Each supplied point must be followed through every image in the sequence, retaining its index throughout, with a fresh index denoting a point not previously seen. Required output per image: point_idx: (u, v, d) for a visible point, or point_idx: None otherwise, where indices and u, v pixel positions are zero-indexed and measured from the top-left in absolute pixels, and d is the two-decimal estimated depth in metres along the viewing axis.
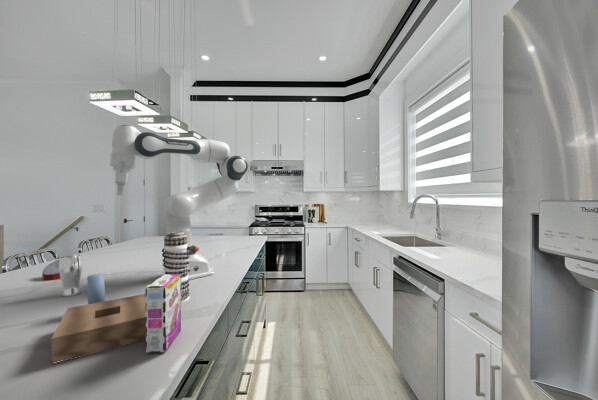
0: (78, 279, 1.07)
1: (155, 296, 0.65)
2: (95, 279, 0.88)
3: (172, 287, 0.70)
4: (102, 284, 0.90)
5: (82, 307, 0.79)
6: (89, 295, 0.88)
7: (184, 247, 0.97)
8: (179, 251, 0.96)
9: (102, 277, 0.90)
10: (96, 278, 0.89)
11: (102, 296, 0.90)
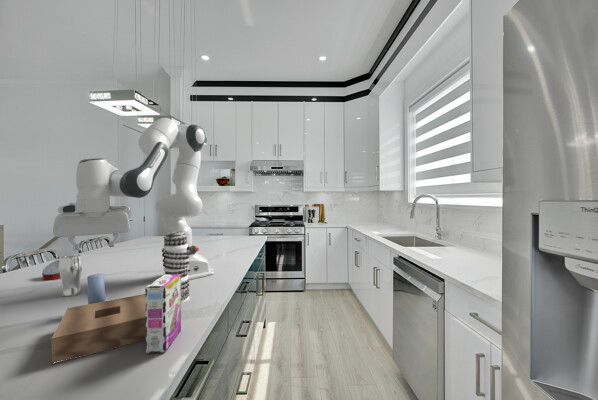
0: (78, 279, 1.07)
1: (155, 296, 0.65)
2: (95, 279, 0.88)
3: (172, 287, 0.70)
4: (102, 284, 0.90)
5: (82, 307, 0.79)
6: (89, 295, 0.88)
7: (184, 247, 0.97)
8: (179, 251, 0.96)
9: (102, 277, 0.90)
10: (96, 278, 0.89)
11: (102, 296, 0.90)
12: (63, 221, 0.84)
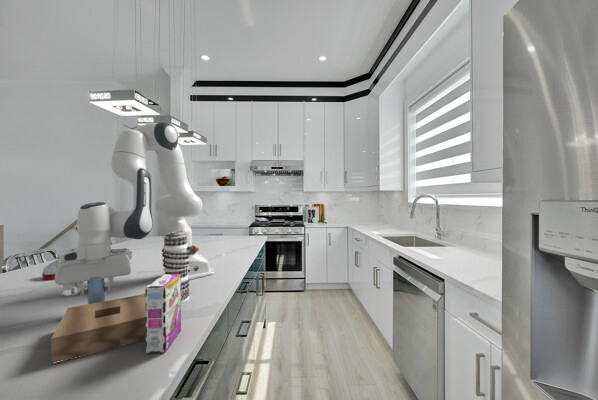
0: None
1: (155, 296, 0.65)
2: (95, 279, 0.88)
3: (172, 287, 0.70)
4: (102, 284, 0.90)
5: (82, 307, 0.79)
6: (89, 295, 0.88)
7: (184, 247, 0.97)
8: (179, 251, 0.96)
9: None
10: (96, 278, 0.88)
11: (102, 296, 0.90)
12: (64, 269, 0.84)
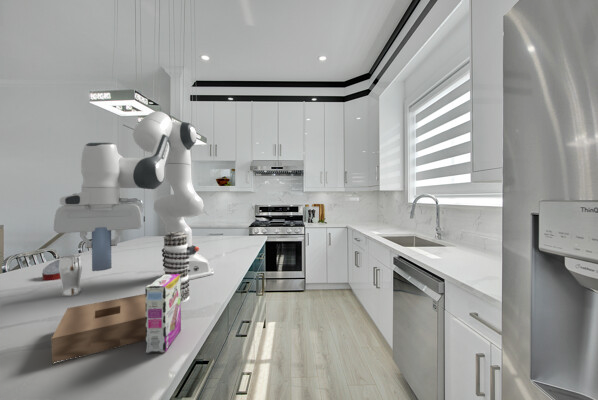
0: (78, 279, 1.07)
1: (155, 296, 0.65)
2: (101, 230, 0.75)
3: (172, 287, 0.70)
4: (108, 237, 0.77)
5: (82, 307, 0.79)
6: (93, 248, 0.75)
7: (184, 247, 0.97)
8: (179, 251, 0.96)
9: None
10: (102, 229, 0.76)
11: (108, 251, 0.77)
12: (65, 215, 0.72)
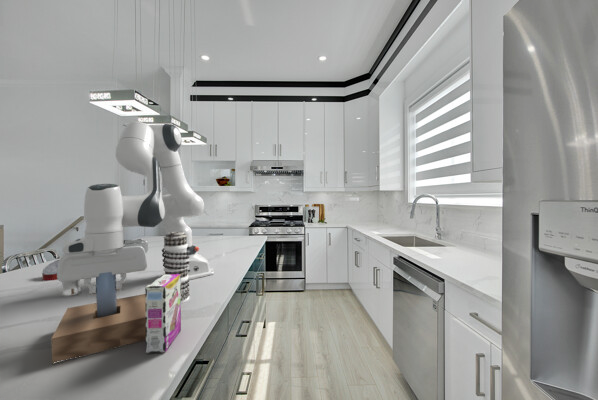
0: None
1: (155, 296, 0.65)
2: (105, 275, 0.73)
3: (172, 287, 0.70)
4: (113, 281, 0.75)
5: (82, 307, 0.79)
6: (98, 294, 0.73)
7: (184, 247, 0.97)
8: (179, 251, 0.96)
9: None
10: (106, 274, 0.74)
11: (113, 296, 0.75)
12: (69, 262, 0.70)
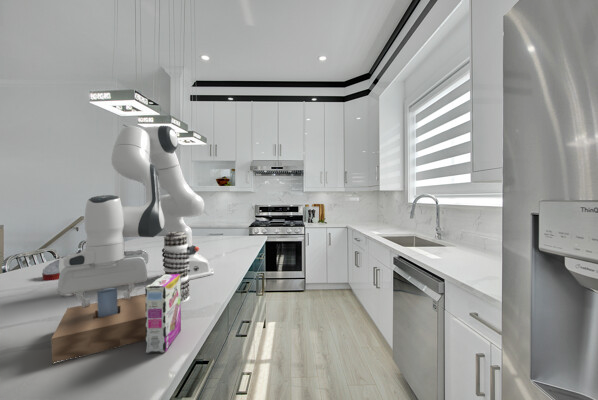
0: None
1: (155, 296, 0.65)
2: (107, 295, 0.74)
3: (172, 287, 0.70)
4: (115, 301, 0.75)
5: None
6: (99, 314, 0.74)
7: (184, 247, 0.97)
8: (179, 251, 0.96)
9: (115, 292, 0.76)
10: (108, 294, 0.74)
11: None
12: (70, 275, 0.70)
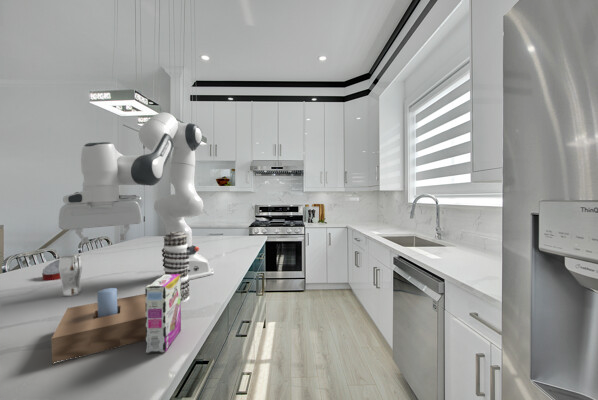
0: (78, 279, 1.07)
1: (155, 296, 0.65)
2: (106, 295, 0.74)
3: (172, 287, 0.70)
4: (115, 301, 0.75)
5: (82, 307, 0.79)
6: (99, 314, 0.74)
7: (184, 247, 0.97)
8: (179, 251, 0.96)
9: (115, 292, 0.76)
10: (108, 294, 0.74)
11: None
12: (69, 212, 0.76)
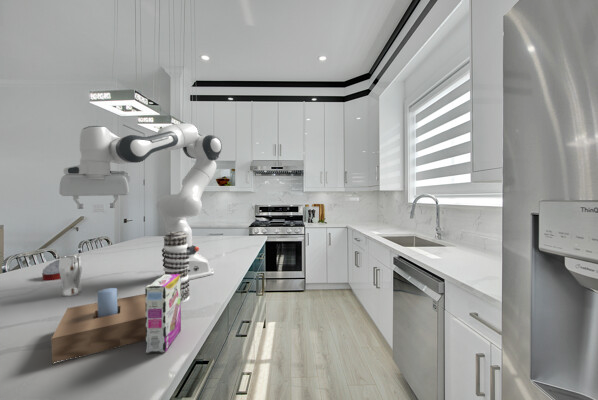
0: (78, 279, 1.07)
1: (155, 296, 0.65)
2: (107, 295, 0.74)
3: (172, 287, 0.70)
4: (115, 301, 0.76)
5: (82, 307, 0.79)
6: (99, 314, 0.74)
7: (184, 247, 0.97)
8: (179, 251, 0.96)
9: (115, 292, 0.76)
10: (108, 294, 0.74)
11: None
12: (68, 182, 0.93)
